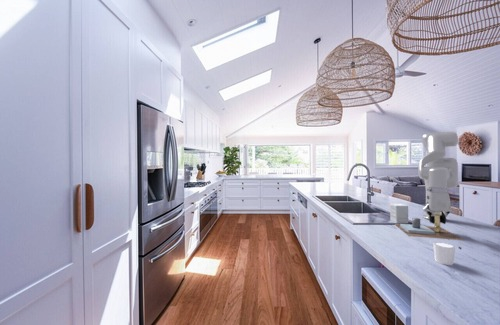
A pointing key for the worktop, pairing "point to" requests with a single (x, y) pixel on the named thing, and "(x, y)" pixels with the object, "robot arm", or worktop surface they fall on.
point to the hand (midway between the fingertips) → (437, 222)
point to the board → (442, 234)
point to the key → (437, 222)
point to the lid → (416, 227)
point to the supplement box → (399, 213)
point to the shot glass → (444, 253)
